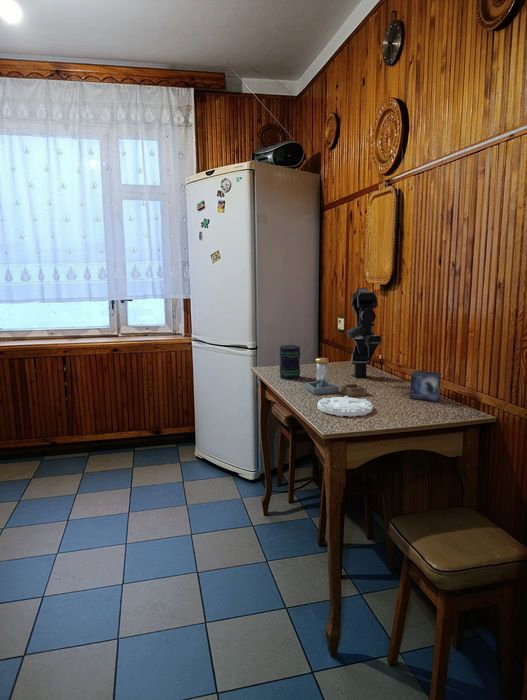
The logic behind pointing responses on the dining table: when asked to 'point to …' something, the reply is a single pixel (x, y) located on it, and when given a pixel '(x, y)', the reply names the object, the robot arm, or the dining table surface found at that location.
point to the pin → (321, 372)
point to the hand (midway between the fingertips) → (364, 356)
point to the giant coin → (345, 406)
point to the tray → (324, 390)
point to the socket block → (353, 389)
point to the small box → (425, 386)
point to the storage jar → (289, 362)
